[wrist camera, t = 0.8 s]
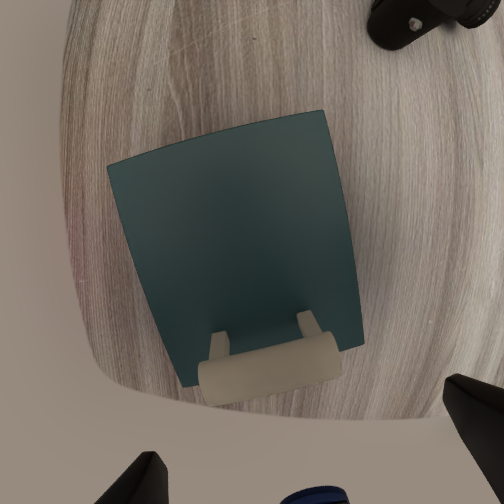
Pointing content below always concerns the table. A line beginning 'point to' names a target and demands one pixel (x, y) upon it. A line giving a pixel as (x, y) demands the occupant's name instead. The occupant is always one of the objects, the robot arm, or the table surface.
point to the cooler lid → (245, 256)
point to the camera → (422, 18)
